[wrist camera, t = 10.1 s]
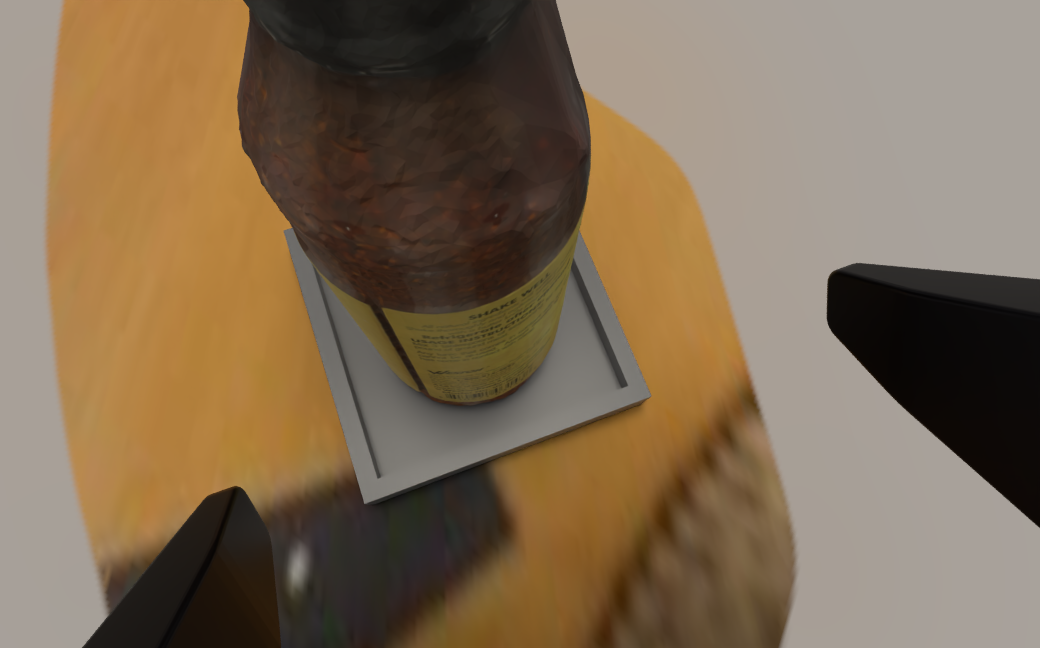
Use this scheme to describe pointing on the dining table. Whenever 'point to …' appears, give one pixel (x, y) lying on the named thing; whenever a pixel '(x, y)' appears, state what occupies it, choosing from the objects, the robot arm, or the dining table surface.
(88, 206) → the dining table surface
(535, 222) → the sauce bottle
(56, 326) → the dining table surface
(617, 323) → the tray
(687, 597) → the dining table surface
